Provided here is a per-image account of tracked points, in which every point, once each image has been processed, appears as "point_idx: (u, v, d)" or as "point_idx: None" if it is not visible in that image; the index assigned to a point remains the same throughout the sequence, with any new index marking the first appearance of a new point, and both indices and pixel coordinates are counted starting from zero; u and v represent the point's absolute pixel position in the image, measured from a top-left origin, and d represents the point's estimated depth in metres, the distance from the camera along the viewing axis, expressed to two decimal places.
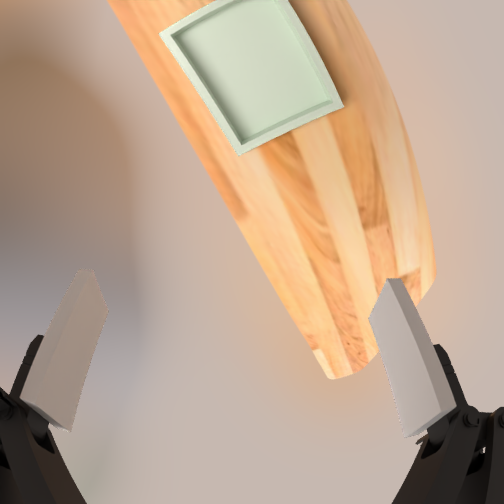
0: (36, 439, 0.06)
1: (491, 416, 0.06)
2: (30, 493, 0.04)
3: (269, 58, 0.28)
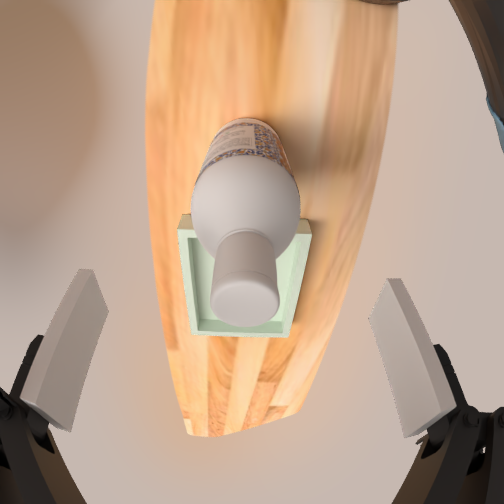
0: (36, 439, 0.06)
1: (491, 416, 0.06)
2: (30, 493, 0.04)
3: None
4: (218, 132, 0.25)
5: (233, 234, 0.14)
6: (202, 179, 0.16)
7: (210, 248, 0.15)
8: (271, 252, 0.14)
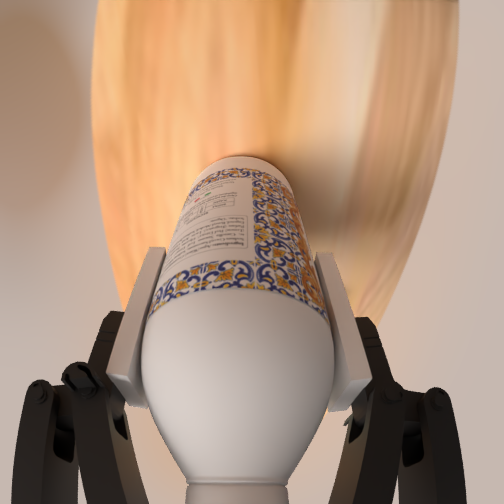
0: None
1: (421, 401, 0.08)
2: (94, 480, 0.05)
3: None
4: (196, 182, 0.16)
5: (213, 488, 0.05)
6: (152, 334, 0.08)
7: None
8: None
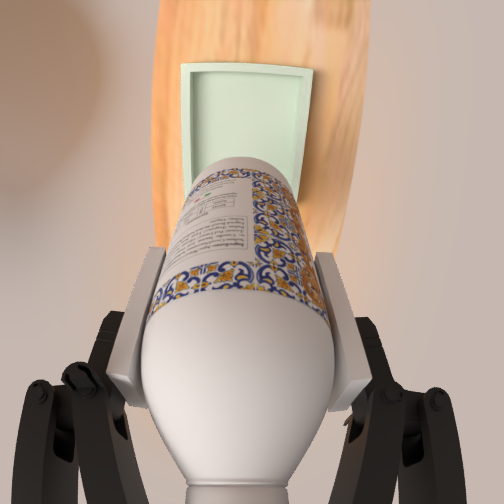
0: None
1: (421, 401, 0.08)
2: (94, 480, 0.05)
3: (259, 138, 0.33)
4: (196, 182, 0.16)
5: (212, 489, 0.05)
6: (151, 336, 0.08)
7: None
8: None
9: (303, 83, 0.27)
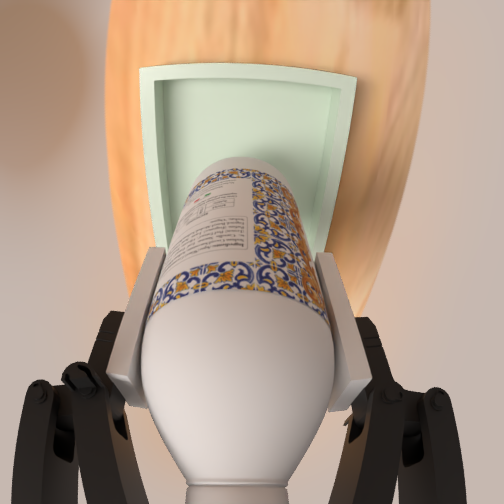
0: None
1: (421, 401, 0.08)
2: (94, 480, 0.05)
3: None
4: (196, 182, 0.16)
5: (213, 489, 0.05)
6: (151, 336, 0.08)
7: None
8: None
9: (340, 100, 0.17)
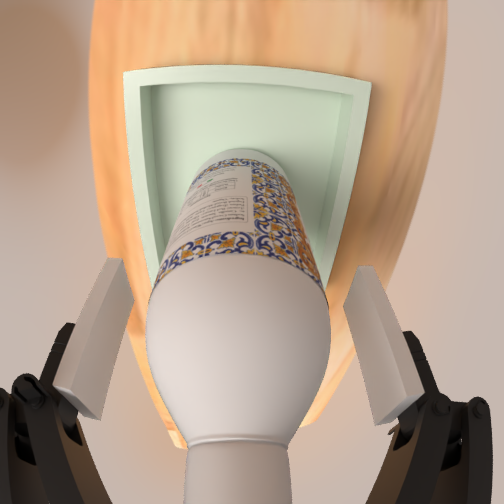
0: (64, 430, 0.07)
1: (465, 407, 0.07)
2: (54, 486, 0.04)
3: None
4: (198, 172, 0.17)
5: (214, 446, 0.06)
6: (157, 299, 0.09)
7: None
8: (284, 472, 0.06)
9: (353, 108, 0.15)
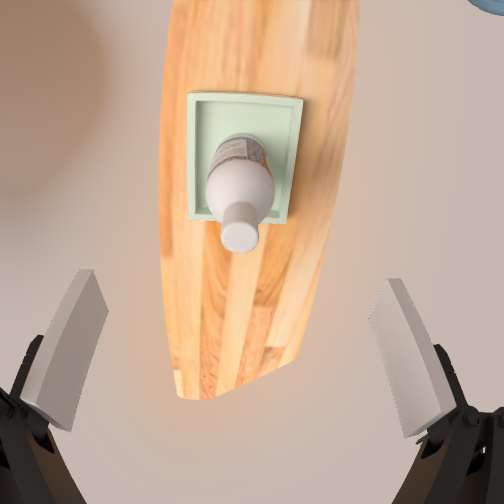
0: (36, 439, 0.06)
1: (491, 416, 0.06)
2: (30, 493, 0.04)
3: None
4: (221, 143, 0.35)
5: (233, 203, 0.24)
6: (214, 173, 0.27)
7: (219, 213, 0.26)
8: (254, 213, 0.24)
9: (294, 112, 0.33)
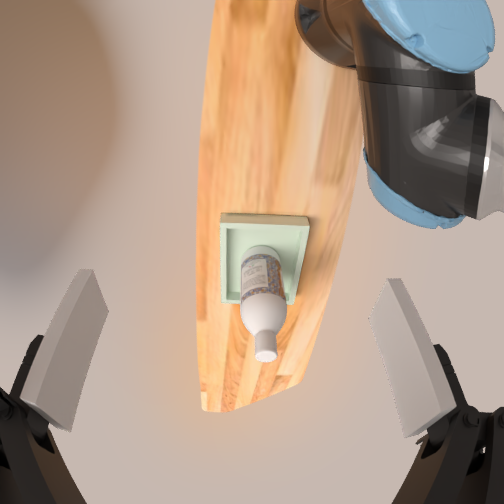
0: (36, 439, 0.06)
1: (491, 416, 0.06)
2: (30, 493, 0.04)
3: None
4: (246, 256, 0.49)
5: (261, 331, 0.38)
6: (246, 303, 0.41)
7: (251, 332, 0.40)
8: (274, 337, 0.38)
9: (302, 235, 0.47)
